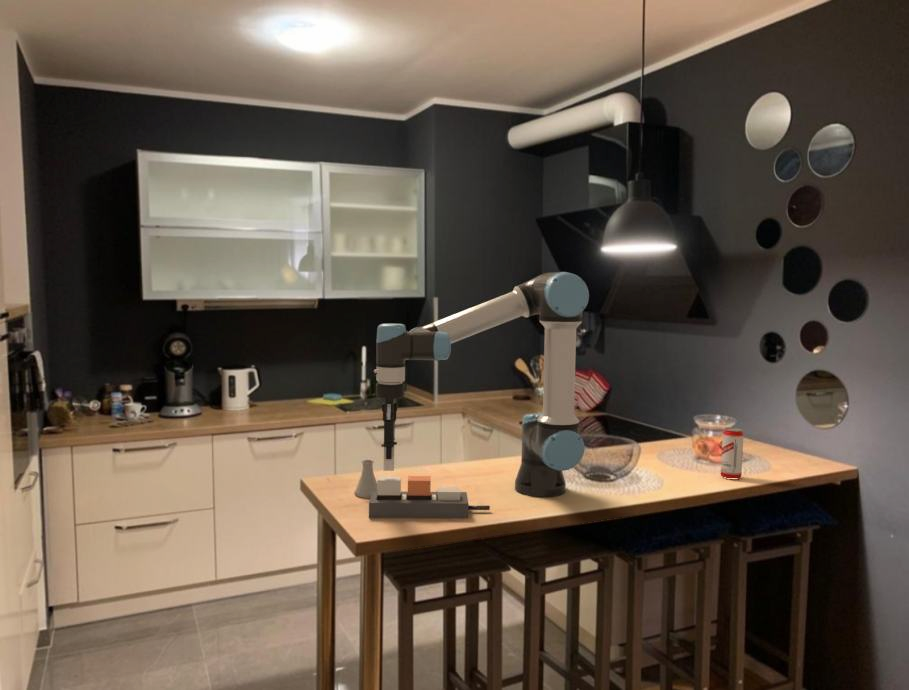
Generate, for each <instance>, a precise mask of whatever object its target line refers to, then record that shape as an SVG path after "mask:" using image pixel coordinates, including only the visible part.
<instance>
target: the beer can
mask: <svg viewBox="0 0 909 690" xmlns="http://www.w3.org/2000/svg"><path fill="white" fill-rule="evenodd" d="M743 449H744V433H743V429H742V428H738V427H724V431H723V432H722V442H721V460H720V462H721V463H720V476H721V477H722V476H723V477H726V478H739V479H741V478H740V477H742V469H743V453H744V450H743ZM723 477H722V478H723Z"/></svg>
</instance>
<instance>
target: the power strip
mask: <svg viewBox="0 0 909 690" xmlns="http://www.w3.org/2000/svg"><path fill="white" fill-rule="evenodd" d="M490 509H491V506H490V505H469V497H468V492H467V491H461V497H460V500H438V491H430V496H424V495H408V491H401V493H400V495H377V491H372V493H371V497H370V498H369V501H368V518H369V519H469V511H490Z"/></svg>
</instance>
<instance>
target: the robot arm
mask: <svg viewBox="0 0 909 690" xmlns="http://www.w3.org/2000/svg"><path fill="white" fill-rule="evenodd" d="M589 299H590V293H589V289H588V286H587V284H586V282H585V280H583V279H582V278H581V277H580V276H579V275H577V274H574V273H571V272H569V271H568V272H567V271H558V272H557V271H556V272H553V271H551V272H545V273H542V274H539V275H538V276H535V277H534V278H532V279H530V280H528V281H525V282H524V283H521V284H518V285H516V286H514V288H513V290H512V291H510V292H508V293H506V294H503V295H500V296H498V297H497V296H496V297H495V298H493V299H490V300H488V301H484V302H482V303H480V304H477V305H475V306H472V307H469V308H466V309H464V310H462V311H458V312H457V313H454V314H451V315H449V316H447V317H444V318H440V319H438V320H437V321H433V322H431V323H428V324H426V325H423V326H416V327H414V328H412V329H410V330H409V331H408V330H407V329H406V325H405V324H403V323H381V324H379V325H378V326H377V329H376V340H375V341H376V342H375V343H376V344H375V345H376V349H375V350H376V353H375V354H376V356H375V358H376V362H375V364H376V365H375V366H376V369H374V370H373V373H374V374H375V377H376V378H375V380H376V381H377V382H376V384H375V396H376V397H377V398H379V399H384V402H382V405H381V412H382V421H383V443H381V445H380V446H381V448H383V471H384V472H385V471H386V472H388V471H389V472H394V471H395V446H397V445H398V442H397V441H395V439H396V438H395V431H396V430H395V427H396V421H397V412H398V403H396V402H395V401H396V399H397V400H398V399H403V398H404V397H405V383H404V382H405V381H406V361H421V360H422V361H446V360H448V359H449V358H450V356H451V352H452V351H451V350H452V344H454V343H456V342H459V341H461V340H464V339H466V338H470V337H471V336H474V335H476V334H479V333H481V332H484V331H487V330H489V329H492V328H494V327H497V326H499V325H502V324H505V323H508V322H510V321H513V320H515V319H519V318H520V317H524V318H526V319H527V318H529V317H532V316H535V315H539V323H540V324H541V325H542V326H543V328H544V341H543V342H544V349H543V350H544V351H543V389H542V391H543V393H542V394H543V396H542V413H541V412H539V413H538V412H537V413H526V414H524V415H523V416H522V422H521V463H520V466H519V469H518V471H517V475H516V477H515V481H514V490H515V491H516V492H518V493H519V494H520V493H521V494H523V495H527V496H531V497H532V496H533V497H541V498H543V497H545V498H546V497H549V498H550V497H555V496H561V495H563V494H565V493H566V491H567V489H566V488H567V487H566V486H567V484H566V480H565V476H564V473H563V471H569V470H571V469H574V468H575V467H576V466H577V465H578V464H579V463H580V462H581V461H582V459H583V457H584V456H585V455H584V454H585V448H586V447H585V443H584V439H583V438H582V437H581V435H580V419H579V418H578V416H576V415H575V393H576V392H575V391H576V390H575V389H576V355H577V354H576V351H577V350H576V349H577V348H576V347H577V329H578V327H579V326H580V325H581V324H582V323H583V312H584V310H585V309H586V307H587V305H588V304H589Z"/></svg>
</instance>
